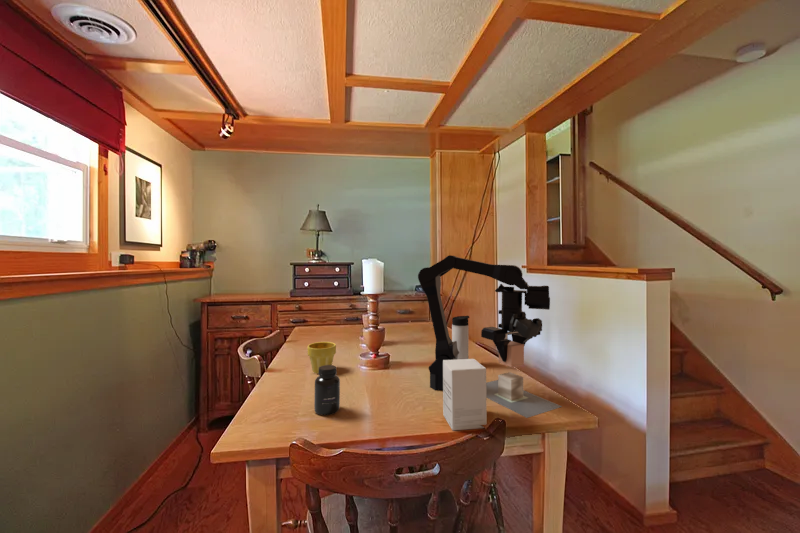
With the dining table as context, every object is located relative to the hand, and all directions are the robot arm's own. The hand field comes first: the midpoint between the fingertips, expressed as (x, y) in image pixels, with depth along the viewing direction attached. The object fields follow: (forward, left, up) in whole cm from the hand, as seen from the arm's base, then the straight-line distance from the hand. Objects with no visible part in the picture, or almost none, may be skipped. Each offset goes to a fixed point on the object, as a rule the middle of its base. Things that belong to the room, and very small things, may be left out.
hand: (510, 360), depth 100 cm
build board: (0, 0, -12) cm, 12 cm away
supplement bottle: (-50, +19, -12) cm, 55 cm away
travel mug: (+6, +31, -12) cm, 34 cm away
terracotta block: (0, 0, -1) cm, 1 cm away
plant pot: (-42, +53, -12) cm, 69 cm away
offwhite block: (0, 0, -11) cm, 11 cm away
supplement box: (-21, -4, -12) cm, 24 cm away
